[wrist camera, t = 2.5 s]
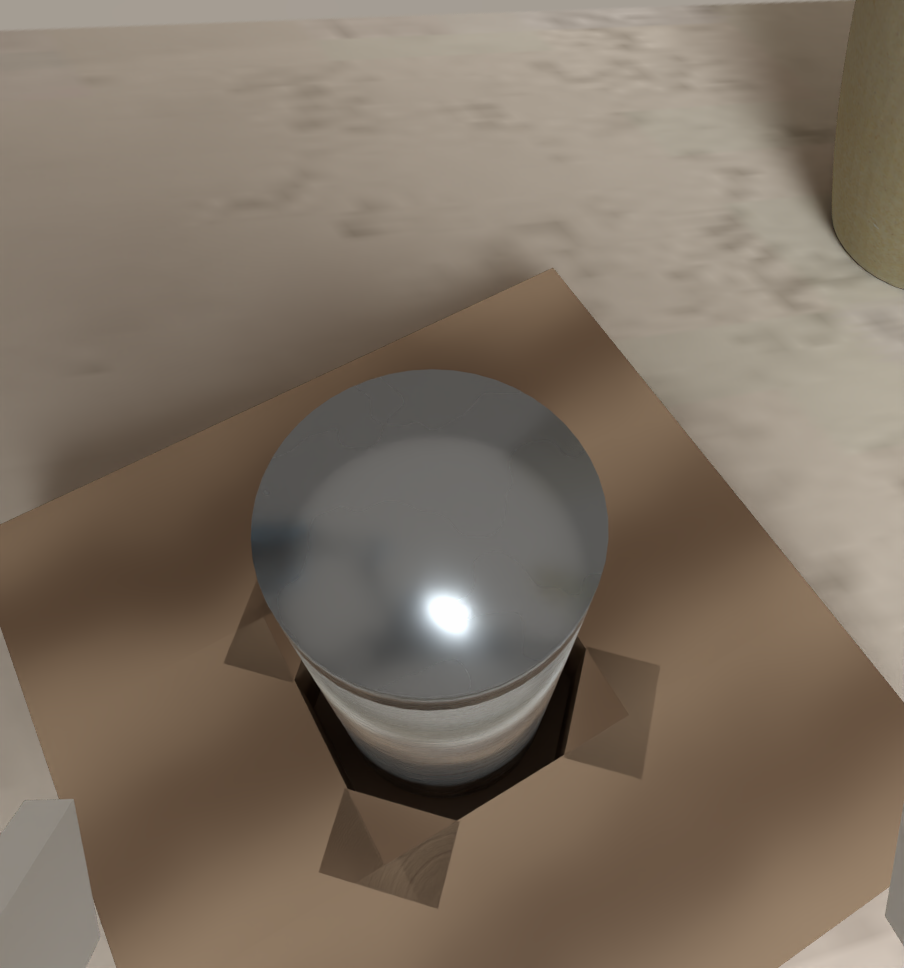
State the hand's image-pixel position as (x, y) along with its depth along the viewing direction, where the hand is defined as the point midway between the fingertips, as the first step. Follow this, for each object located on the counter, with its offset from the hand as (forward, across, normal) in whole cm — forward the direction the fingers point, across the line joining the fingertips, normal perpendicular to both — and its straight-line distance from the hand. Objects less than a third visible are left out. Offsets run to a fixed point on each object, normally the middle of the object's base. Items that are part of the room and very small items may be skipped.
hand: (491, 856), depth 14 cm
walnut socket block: (+12, -1, -5) cm, 13 cm away
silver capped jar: (+12, -1, -4) cm, 12 cm away
